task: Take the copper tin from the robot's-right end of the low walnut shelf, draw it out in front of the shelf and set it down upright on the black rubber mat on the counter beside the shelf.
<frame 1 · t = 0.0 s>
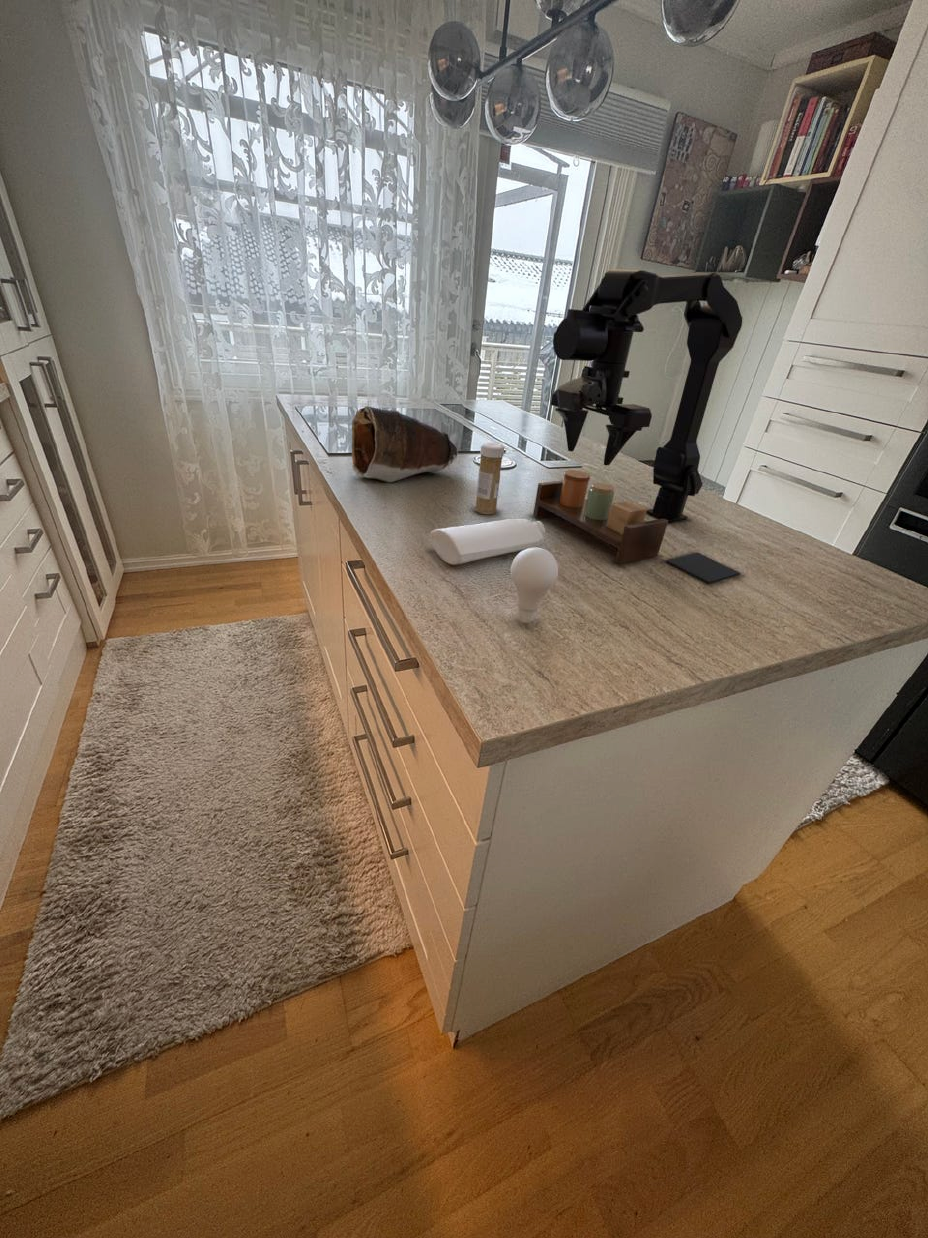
hand: (587, 457, 93), 15 cm above the worktop, tool pointing down, fingers open, 9 cm apart
sprinkles bottle: (485, 512, 107), on the worktop
oak block: (623, 529, 94), point 4 cm above the worktop, touching walnut shelf
lightbulb: (525, 623, 71), on the worktop
black rubber mat: (702, 568, 92), on the worktop
walnut shelf: (591, 535, 101), on the worktop
copper tin: (571, 503, 103), point 4 cm above the worktop, touching walnut shelf
sage jar: (595, 515, 99), point 4 cm above the worktop, touching walnut shelf
clay pot: (408, 475, 124), on the worktop
squeeze bottle: (492, 552, 90), on the worktop
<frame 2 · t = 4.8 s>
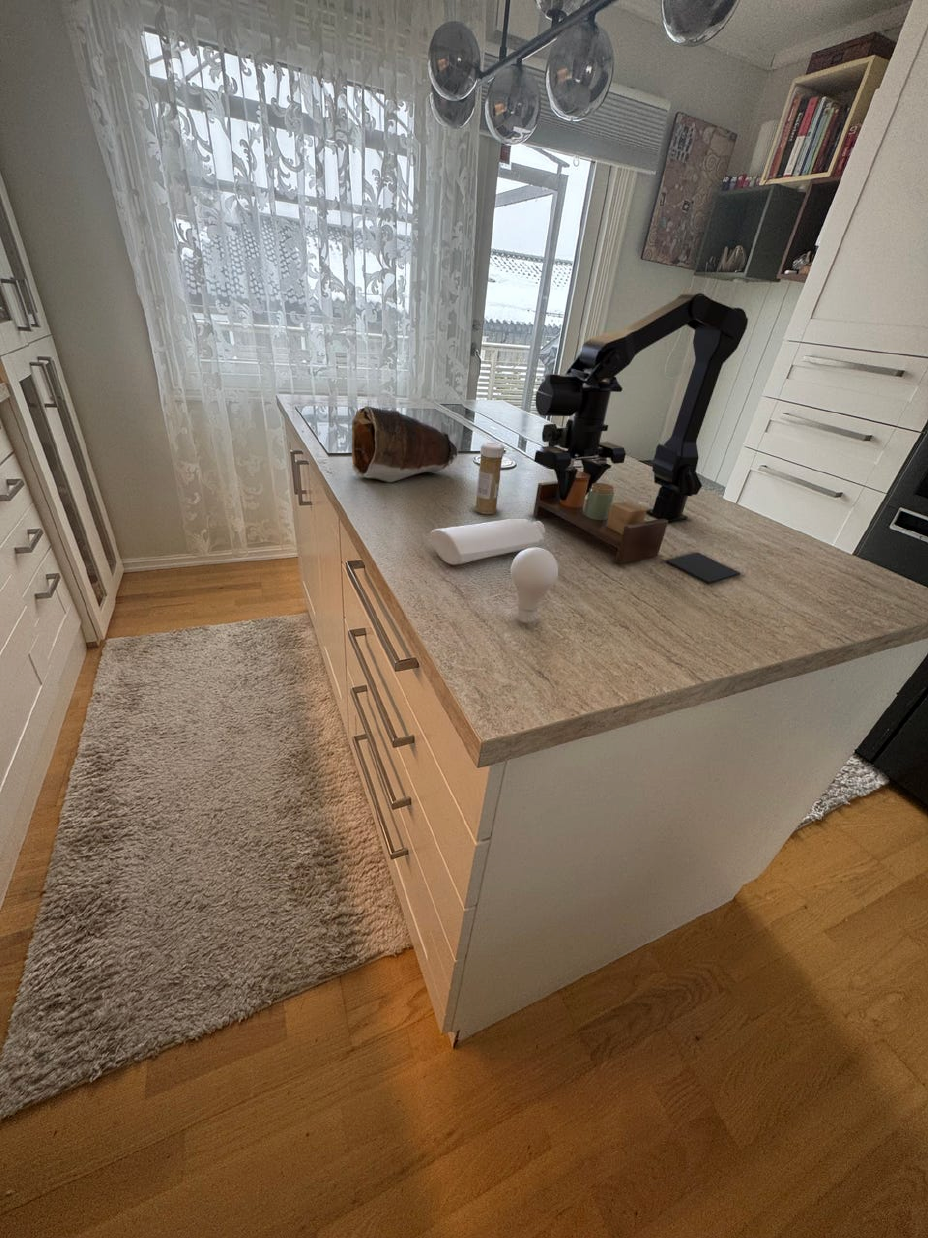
hand: (572, 498, 103), 5 cm above the worktop, tool pointing down, fingers closed on copper tin, 5 cm apart
copper tin: (571, 503, 103), point 4 cm above the worktop, touching gripper, walnut shelf
everything else where it was.
when the fingers open (1 cm above the worktop, at t = 11.9 s): copper tin stays where it is, resting on black rubber mat.
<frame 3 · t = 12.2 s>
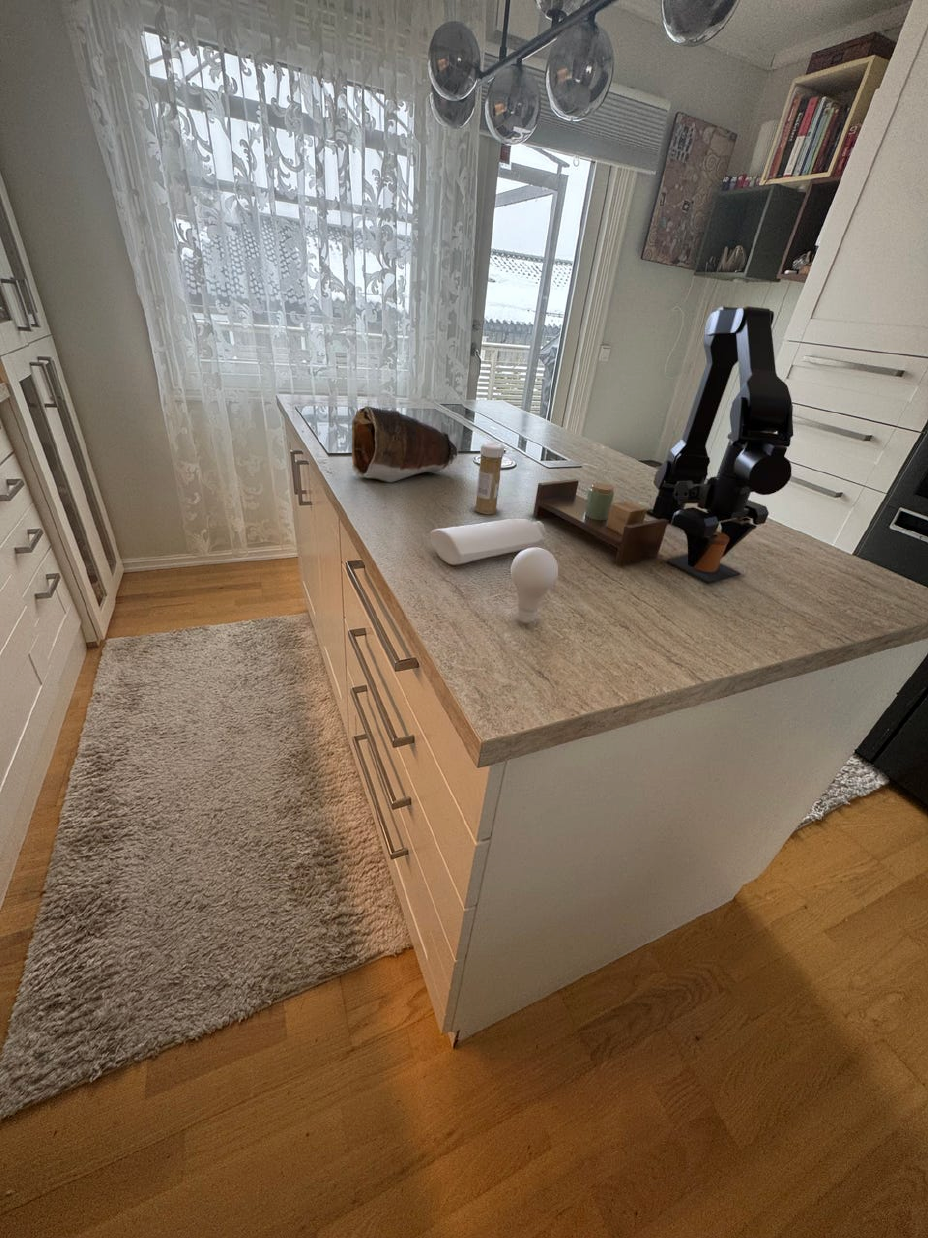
hand: (704, 562, 91), 1 cm above the worktop, tool pointing down, fingers open, 7 cm apart
copper tin: (702, 566, 92), resting on black rubber mat
everything else where it was.
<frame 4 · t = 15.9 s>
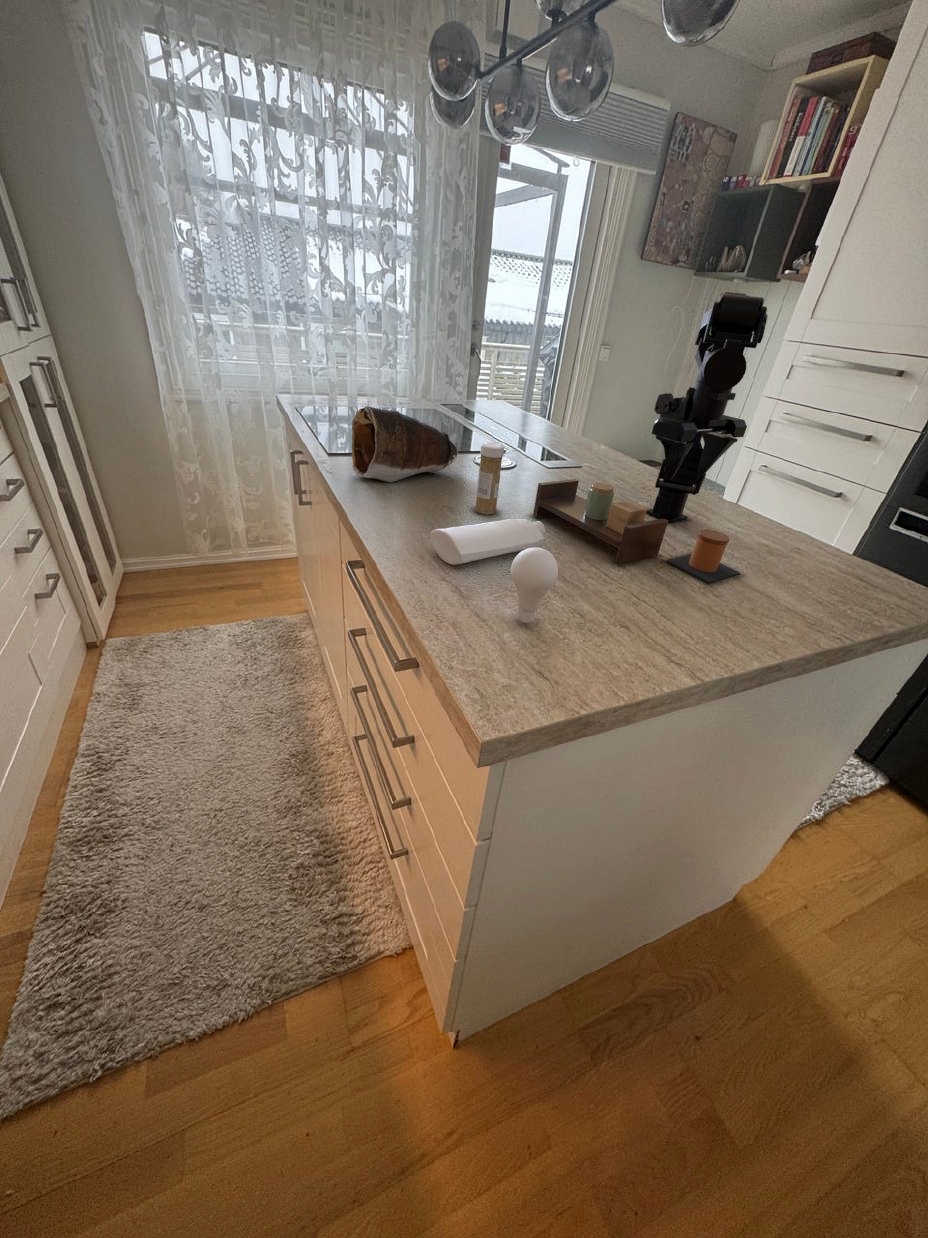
hand: (685, 476, 94), 13 cm above the worktop, tool pointing down, fingers open, 9 cm apart
nothing on the worktop moved.
at the end: copper tin 0.1 cm off-centre on the black rubber mat, point 0.4 cm above the black rubber mat's base; copper tin tilted 0°; sage jar moved 0.0 cm from its start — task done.
